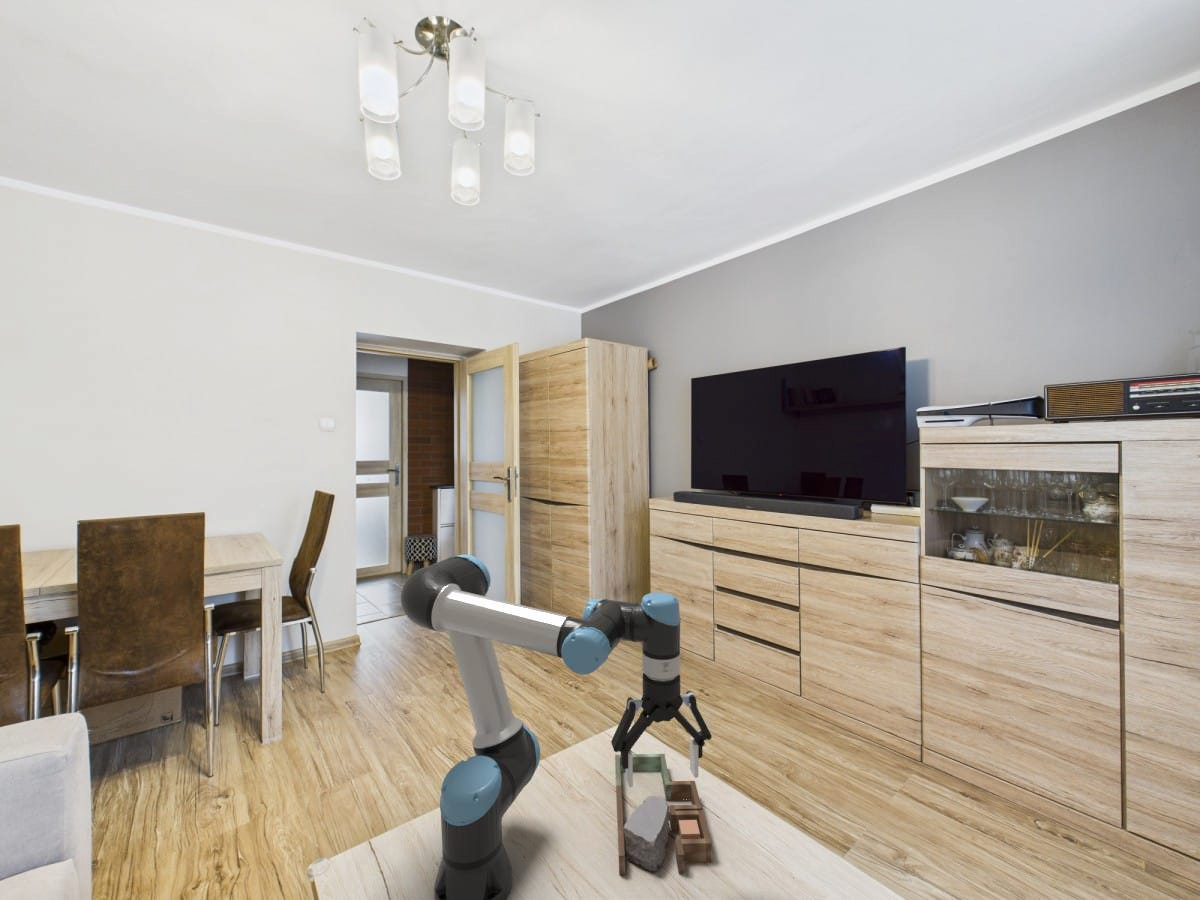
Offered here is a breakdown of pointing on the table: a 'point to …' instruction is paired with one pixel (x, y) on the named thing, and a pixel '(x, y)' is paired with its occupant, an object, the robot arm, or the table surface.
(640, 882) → the table surface
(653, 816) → the decorative stone
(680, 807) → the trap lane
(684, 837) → the cube
